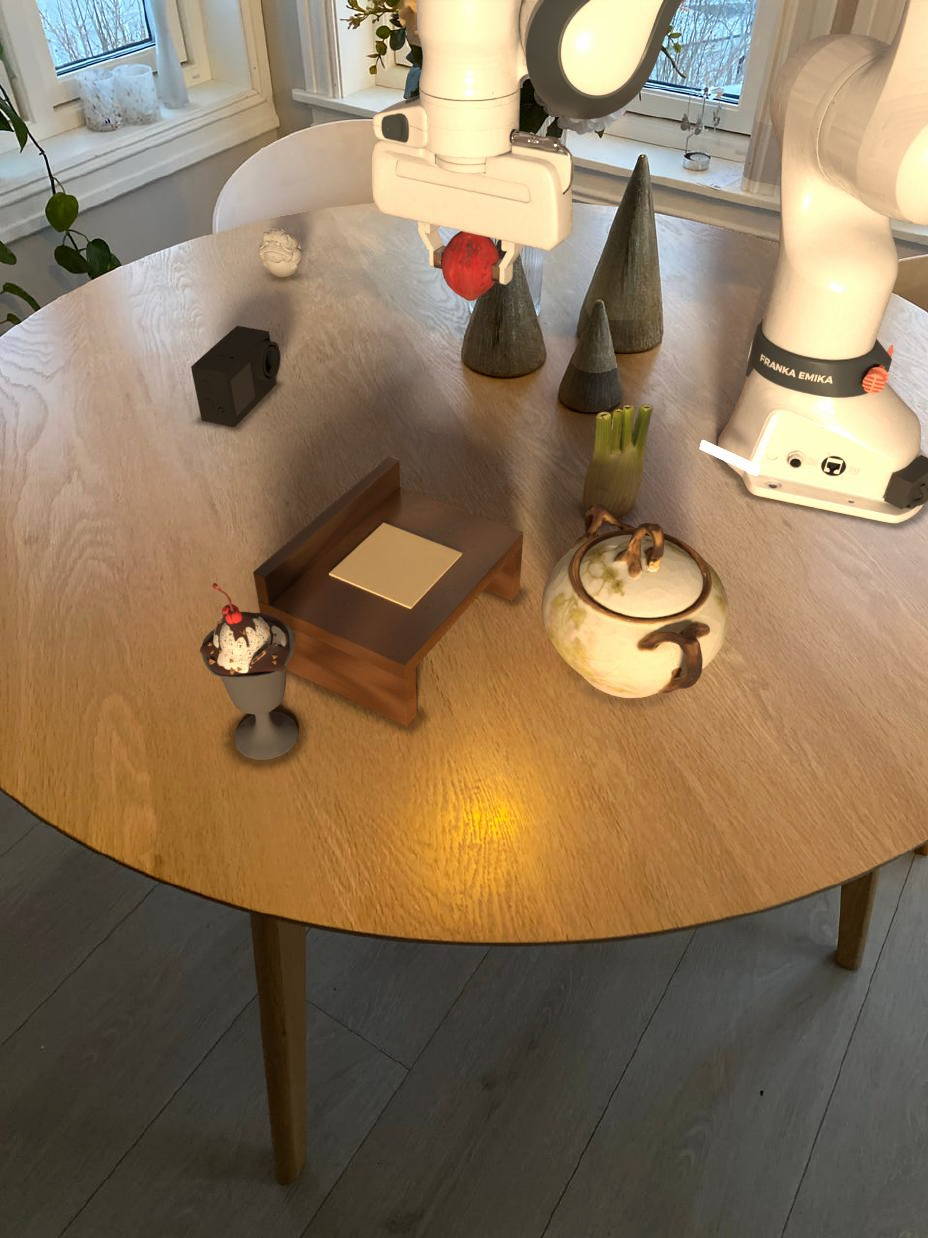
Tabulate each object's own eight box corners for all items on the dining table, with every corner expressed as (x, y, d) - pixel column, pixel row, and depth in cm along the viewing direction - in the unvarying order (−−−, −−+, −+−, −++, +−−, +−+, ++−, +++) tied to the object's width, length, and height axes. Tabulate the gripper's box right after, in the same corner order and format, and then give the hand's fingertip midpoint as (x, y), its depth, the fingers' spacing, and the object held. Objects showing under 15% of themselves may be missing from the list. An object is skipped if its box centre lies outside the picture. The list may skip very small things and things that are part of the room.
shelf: (519, 592, 88) (526, 503, 81) (407, 727, 76) (403, 637, 69) (392, 542, 93) (388, 455, 86) (268, 661, 81) (252, 571, 74)
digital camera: (244, 430, 107) (234, 374, 103) (201, 421, 109) (190, 365, 104) (285, 386, 115) (279, 331, 110) (245, 378, 116) (236, 324, 111)
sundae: (226, 706, 77) (193, 564, 67) (310, 702, 78) (290, 560, 68) (218, 771, 73) (181, 629, 62) (307, 766, 73) (285, 624, 63)
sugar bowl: (761, 729, 76) (810, 588, 66) (588, 773, 73) (612, 631, 63) (653, 575, 90) (680, 438, 80) (503, 606, 87) (511, 467, 77)
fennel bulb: (636, 500, 99) (654, 397, 91) (638, 529, 95) (656, 424, 87) (580, 496, 99) (592, 393, 91) (579, 525, 96) (592, 420, 87)
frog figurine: (255, 285, 135) (248, 235, 130) (270, 264, 140) (264, 216, 135) (296, 288, 134) (291, 239, 130) (310, 268, 139) (306, 219, 135)
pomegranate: (493, 315, 94) (495, 234, 89) (436, 310, 95) (434, 229, 90) (503, 290, 99) (505, 211, 93) (449, 285, 99) (447, 206, 94)
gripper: (590, 130, 84) (578, 284, 93) (395, 97, 91) (402, 242, 101) (558, 151, 80) (549, 309, 89) (357, 115, 87) (368, 264, 97)
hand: (470, 273), depth 95 cm, fingers closed on pomegranate, 6 cm apart
